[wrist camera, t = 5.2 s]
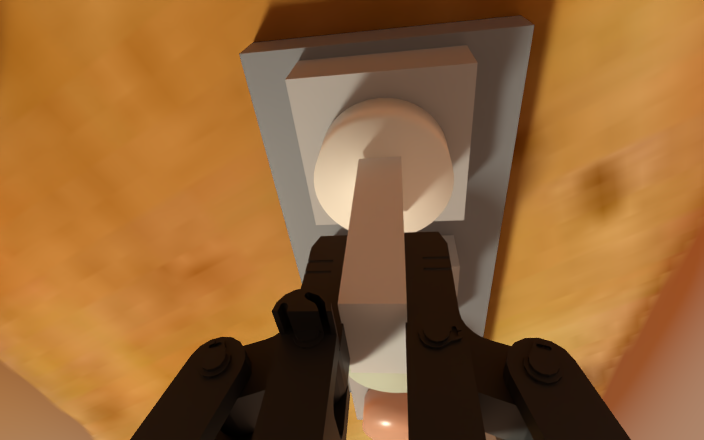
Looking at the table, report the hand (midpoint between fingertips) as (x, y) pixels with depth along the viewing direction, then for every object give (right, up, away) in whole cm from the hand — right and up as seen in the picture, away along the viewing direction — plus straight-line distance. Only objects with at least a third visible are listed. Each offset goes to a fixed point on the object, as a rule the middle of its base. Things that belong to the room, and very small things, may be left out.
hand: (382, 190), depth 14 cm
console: (+2, -4, +11) cm, 12 cm away
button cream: (0, +3, +4) cm, 4 cm away
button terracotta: (+3, -13, +16) cm, 20 cm away
